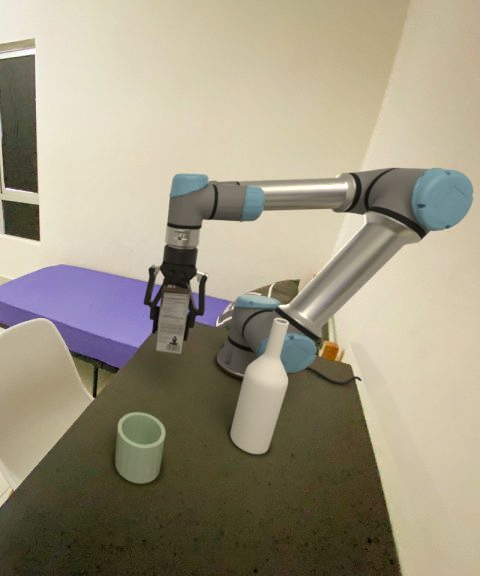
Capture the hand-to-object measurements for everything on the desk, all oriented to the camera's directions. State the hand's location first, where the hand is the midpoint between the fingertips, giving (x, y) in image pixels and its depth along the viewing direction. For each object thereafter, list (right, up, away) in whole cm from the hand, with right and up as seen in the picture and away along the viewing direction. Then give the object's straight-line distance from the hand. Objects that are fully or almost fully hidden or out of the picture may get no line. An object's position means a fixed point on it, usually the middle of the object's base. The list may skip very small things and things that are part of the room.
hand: (169, 334), depth 84 cm
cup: (-10, -24, -16) cm, 30 cm away
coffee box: (0, -3, +1) cm, 3 cm away
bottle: (+16, -23, -9) cm, 29 cm away
